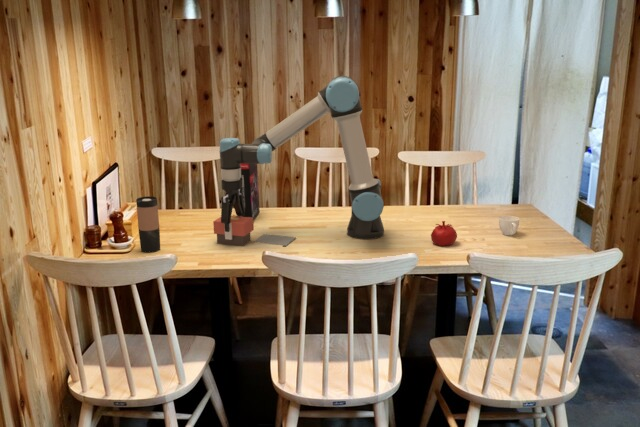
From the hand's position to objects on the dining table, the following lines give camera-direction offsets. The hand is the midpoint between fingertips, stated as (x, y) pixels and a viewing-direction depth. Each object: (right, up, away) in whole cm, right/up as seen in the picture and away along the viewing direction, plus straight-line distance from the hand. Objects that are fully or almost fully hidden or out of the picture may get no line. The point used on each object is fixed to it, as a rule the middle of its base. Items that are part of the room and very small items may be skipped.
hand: (234, 235), depth 244 cm
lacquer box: (0, -3, +1) cm, 3 cm away
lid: (0, +2, 0) cm, 2 cm away
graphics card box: (+2, +7, +36) cm, 37 cm away
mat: (+15, -2, +3) cm, 16 cm away
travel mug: (-31, -5, -6) cm, 32 cm away
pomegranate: (+82, -3, -1) cm, 82 cm away
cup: (+110, 0, +9) cm, 111 cm away
